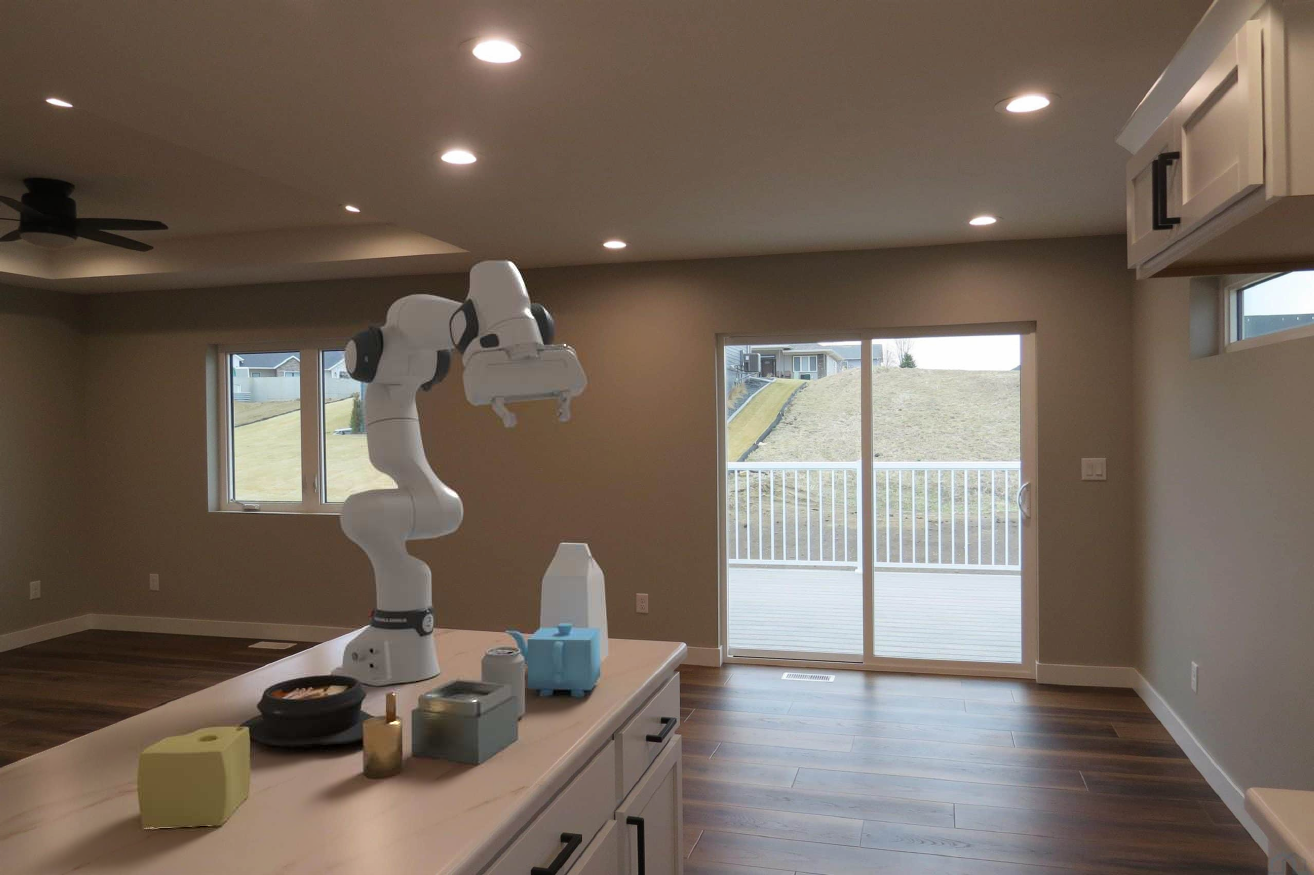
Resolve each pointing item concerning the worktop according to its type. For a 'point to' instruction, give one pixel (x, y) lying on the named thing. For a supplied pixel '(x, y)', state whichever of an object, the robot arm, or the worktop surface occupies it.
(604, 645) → the milk
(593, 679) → the teapot
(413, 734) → the grey square box
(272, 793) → the worktop surface
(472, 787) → the worktop surface
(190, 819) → the cheese
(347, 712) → the casserole
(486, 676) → the can
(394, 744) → the spout can
